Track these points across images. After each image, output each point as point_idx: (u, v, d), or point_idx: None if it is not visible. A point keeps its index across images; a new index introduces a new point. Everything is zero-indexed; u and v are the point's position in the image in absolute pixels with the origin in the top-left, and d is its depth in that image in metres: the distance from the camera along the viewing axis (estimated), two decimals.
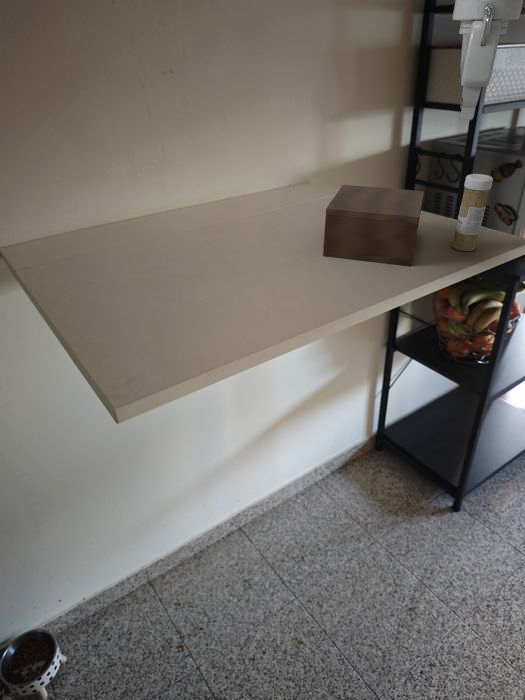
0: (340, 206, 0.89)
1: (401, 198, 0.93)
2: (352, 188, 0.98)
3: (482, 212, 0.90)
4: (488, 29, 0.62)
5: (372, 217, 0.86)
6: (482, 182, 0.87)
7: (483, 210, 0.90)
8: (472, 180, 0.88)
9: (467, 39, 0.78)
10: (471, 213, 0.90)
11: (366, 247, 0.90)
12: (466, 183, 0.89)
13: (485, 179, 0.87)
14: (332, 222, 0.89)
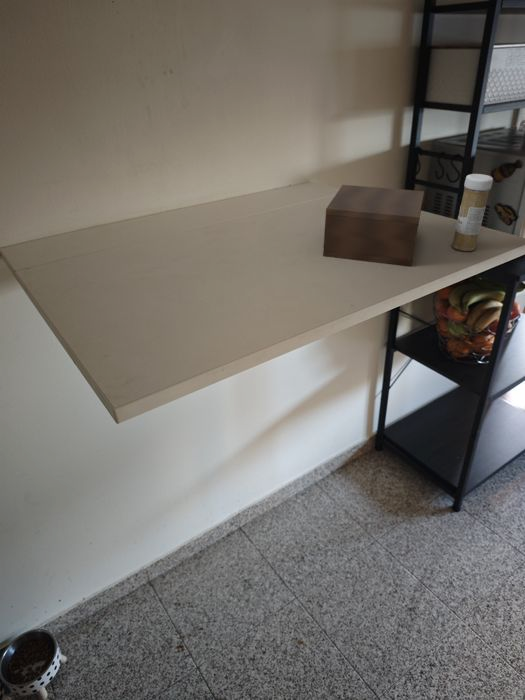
0: (340, 206, 0.89)
1: (401, 198, 0.93)
2: (352, 188, 0.98)
3: (482, 212, 0.90)
4: None
5: (372, 217, 0.86)
6: (482, 182, 0.87)
7: (483, 210, 0.90)
8: (472, 180, 0.88)
9: None
10: (471, 213, 0.90)
11: (366, 247, 0.90)
12: (466, 183, 0.89)
13: (485, 179, 0.87)
14: (332, 222, 0.89)
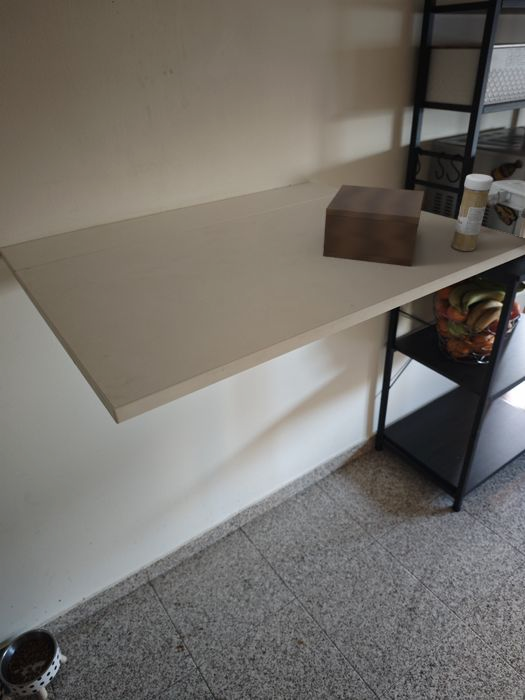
0: (340, 206, 0.89)
1: (401, 198, 0.93)
2: (352, 188, 0.98)
3: (482, 212, 0.90)
4: None
5: (372, 217, 0.86)
6: (482, 182, 0.87)
7: (483, 210, 0.90)
8: (472, 180, 0.88)
9: None
10: (471, 214, 0.90)
11: (366, 247, 0.90)
12: (466, 183, 0.89)
13: (485, 179, 0.87)
14: (332, 222, 0.89)
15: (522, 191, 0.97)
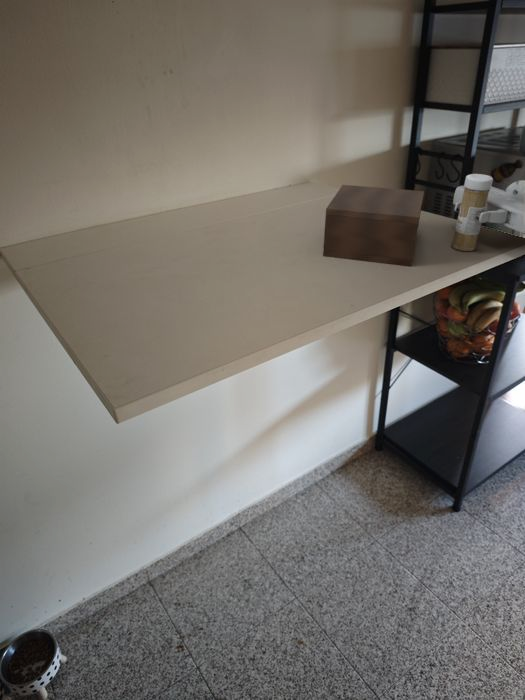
0: (340, 206, 0.89)
1: (401, 198, 0.93)
2: (352, 188, 0.98)
3: None
4: None
5: (372, 217, 0.86)
6: (482, 182, 0.87)
7: None
8: (472, 180, 0.88)
9: None
10: (471, 214, 0.90)
11: (366, 247, 0.90)
12: (466, 183, 0.89)
13: (485, 179, 0.87)
14: (332, 222, 0.89)
15: None
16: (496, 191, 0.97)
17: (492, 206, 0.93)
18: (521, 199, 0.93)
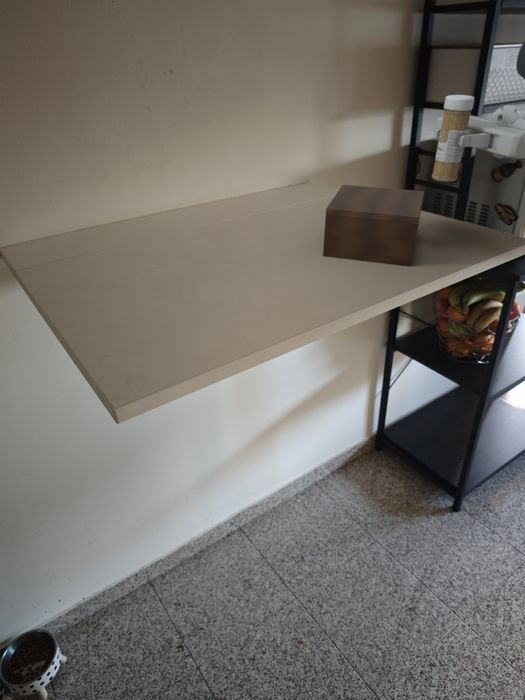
0: (340, 206, 0.89)
1: (401, 198, 0.93)
2: (352, 188, 0.98)
3: None
4: None
5: (372, 217, 0.86)
6: (462, 101, 0.80)
7: (464, 133, 0.84)
8: (452, 99, 0.81)
9: None
10: (451, 138, 0.84)
11: (366, 247, 0.90)
12: (445, 104, 0.82)
13: (466, 97, 0.81)
14: (332, 222, 0.89)
15: None
16: (480, 119, 0.91)
17: (475, 132, 0.86)
18: (506, 124, 0.86)
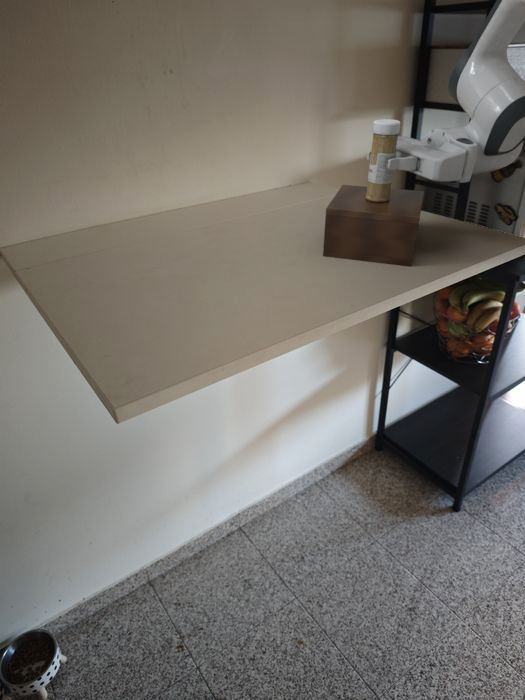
0: (340, 206, 0.89)
1: (401, 198, 0.93)
2: (352, 188, 0.98)
3: None
4: None
5: (372, 217, 0.86)
6: (388, 126, 0.83)
7: (392, 156, 0.87)
8: (378, 124, 0.84)
9: None
10: (380, 160, 0.87)
11: (366, 247, 0.90)
12: (373, 128, 0.85)
13: (391, 122, 0.84)
14: (332, 222, 0.89)
15: (398, 145, 0.90)
16: (413, 141, 0.94)
17: (405, 154, 0.89)
18: (434, 147, 0.89)
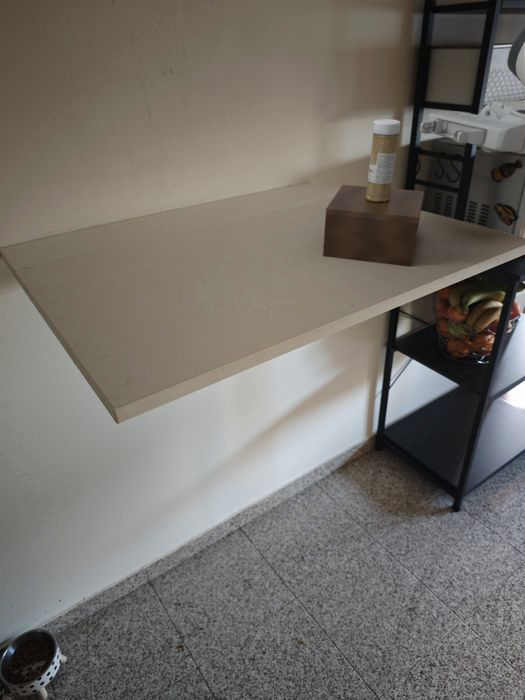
0: (340, 206, 0.89)
1: (401, 198, 0.93)
2: (352, 188, 0.98)
3: (392, 159, 0.87)
4: None
5: (372, 217, 0.86)
6: (388, 126, 0.83)
7: (392, 156, 0.87)
8: (378, 124, 0.84)
9: None
10: (380, 160, 0.87)
11: (366, 247, 0.90)
12: (373, 128, 0.85)
13: (391, 122, 0.84)
14: (332, 222, 0.89)
15: (457, 118, 0.92)
16: (469, 115, 0.95)
17: (464, 127, 0.91)
18: (493, 119, 0.91)
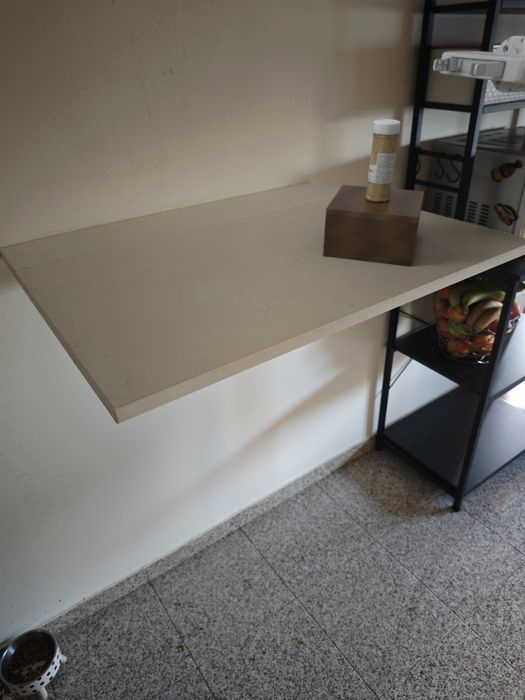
0: (340, 206, 0.89)
1: (401, 198, 0.93)
2: (352, 188, 0.98)
3: (392, 159, 0.87)
4: None
5: (372, 217, 0.86)
6: (388, 126, 0.83)
7: (392, 156, 0.87)
8: (378, 124, 0.84)
9: None
10: (380, 160, 0.87)
11: (366, 247, 0.90)
12: (373, 128, 0.85)
13: (391, 122, 0.84)
14: (332, 222, 0.89)
15: (473, 53, 0.87)
16: (485, 53, 0.90)
17: (481, 62, 0.86)
18: (512, 54, 0.85)
